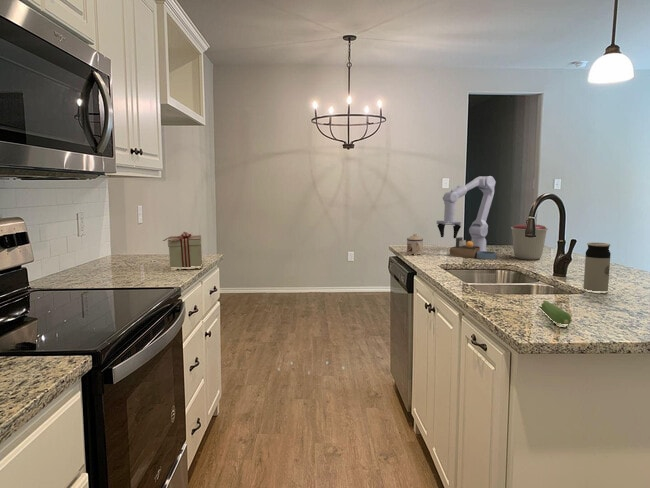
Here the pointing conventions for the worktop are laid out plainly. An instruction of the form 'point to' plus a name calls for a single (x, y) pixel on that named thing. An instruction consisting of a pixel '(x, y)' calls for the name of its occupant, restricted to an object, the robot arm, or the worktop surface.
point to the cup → (486, 255)
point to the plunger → (460, 242)
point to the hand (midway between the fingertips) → (448, 237)
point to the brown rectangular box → (464, 251)
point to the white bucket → (528, 242)
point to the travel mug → (597, 267)
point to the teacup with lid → (414, 245)
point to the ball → (469, 244)
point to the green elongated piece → (556, 313)
